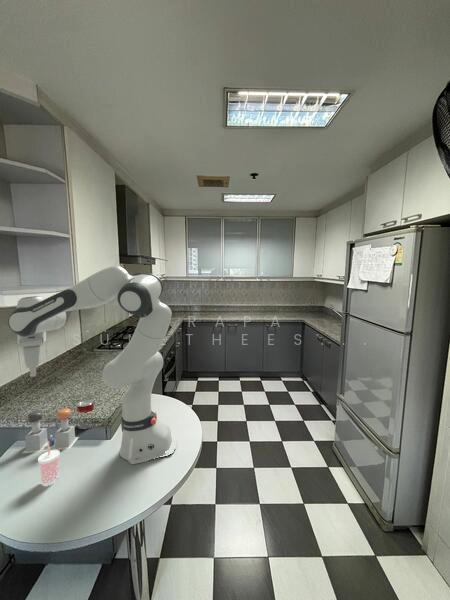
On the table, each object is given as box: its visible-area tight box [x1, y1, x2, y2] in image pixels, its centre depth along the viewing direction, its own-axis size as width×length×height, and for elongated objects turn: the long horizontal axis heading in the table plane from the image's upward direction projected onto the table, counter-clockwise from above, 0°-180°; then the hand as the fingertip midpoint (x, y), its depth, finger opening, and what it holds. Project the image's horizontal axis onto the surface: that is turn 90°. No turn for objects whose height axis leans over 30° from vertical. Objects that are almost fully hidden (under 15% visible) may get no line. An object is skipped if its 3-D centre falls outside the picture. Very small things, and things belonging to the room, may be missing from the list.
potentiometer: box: [47, 434, 55, 447], centre depth 102 cm, size 2×2×4 cm
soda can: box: [76, 399, 95, 414], centre depth 116 cm, size 7×7×12 cm
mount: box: [20, 425, 80, 455], centre depth 102 cm, size 18×8×7 cm, turn 98°
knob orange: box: [56, 408, 71, 432], centre depth 103 cm, size 5×5×9 cm
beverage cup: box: [37, 441, 61, 487], centre depth 84 cm, size 6×6×14 cm
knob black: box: [27, 410, 43, 435], centre depth 101 cm, size 5×5×9 cm
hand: (33, 372), depth 97 cm, fingers open, 8 cm apart
